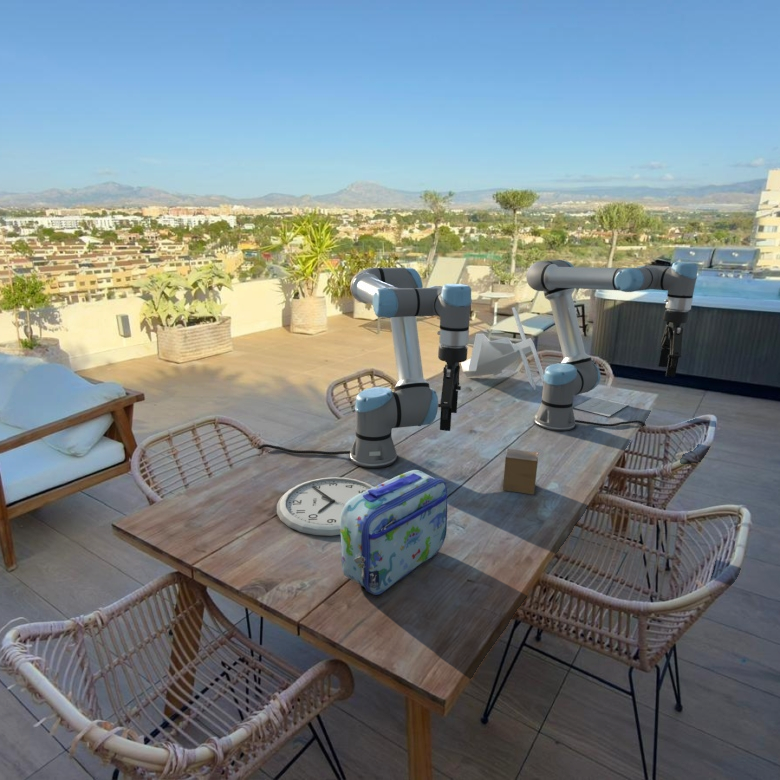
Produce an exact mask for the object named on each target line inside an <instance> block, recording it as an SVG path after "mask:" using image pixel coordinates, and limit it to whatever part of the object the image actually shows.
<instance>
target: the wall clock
mask: <svg viewBox="0 0 780 780" xmlns="http://www.w3.org/2000/svg"><path fill="white" fill-rule="evenodd" d="M373 487H375V485H372V484H371V483H369V482H365V481H362V480H359V479H355V478H349V477H338V476H337V477H335V476H333V477H332V476H331V477H322V478H317V479H312V480H307V481H305V482H302V483H299V484H297V485H295V486H293V487H292V488H290V489H288V490H287V491H286V492H285V493H284V494H283V495H281V496H280V498H279V499H278V502H277V503H276V515H277V517H278V518H279V520H280V521H281V522H282V523H283V524H285V525H286V526H287V527H288V528H290V529H293V530H295V531H297V532H299V533H303V534H308V535H312V536H327V537H328V536H329V537H331V536H332V537H333V536H341V533H340V519H341V513H342V510H343V508H344V506H345V505H346V503H347V502H348V501H349V500H350V499H351V498H353V497H355V496H356V495H358V494H361V493H363V492H365V491H367V490H369V489H371V488H373Z"/></svg>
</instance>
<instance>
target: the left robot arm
mask: <svg viewBox="0 0 780 780" xmlns="http://www.w3.org/2000/svg"><path fill="white" fill-rule="evenodd" d="M352 277H353V278H352V279H351V281H350V289H349V290H350V293H351V295H352V297H353V298H354V299H355V300H356V301H358V302H360V303H362V304H370V305H371V306H372V308H373V312H374V314H375V316H376V317H378V318H386V319H389V320H390V329H391V335H392V343H393V345H392V346H393V353H394V359H395V360H394V361H395V368H396V369H395V370H396V376H397V377H396V378H397V383H396V384H395V386H393V389H394V391H393V390H392V389H391V388H390V387H386V386H374V387H370V388H365V389H363V390H361V391H360V392H359V393H358V394H357V395H356V397H355V406H354V411H355V437H354V441H353V443H352V447H351V449H350V450H338V451H326V450H325V451H324V450H300V449H289V448H286V447H283V446H278V445H273V444H267V443H263V444H260V445H259V446H258V447H257V450H261V449H263V448H268V449H269V448H270V449H273V450H278V451H279V450H280V451H283V452H287V453H290V454H291V453H292V454H315V455H331V456H335V455H337V456H338V455H349V460H350V462H351V463H352V464H353V465H355V466H357V467H361V468H366V469H381V468H386V467H389V466H392V465H393V464H394V463H396V462H397V459H398V458H397V457H398V455H397V450H396V447H395V443H394V441H393V438H392V432H393V431H392V430H393V429H398V428H400V429H401V428H408V427H422V426H429V425H431V424H433V422H434V421H435V420H436V417H437V414H438V408H440V416H439V431H444V432H451V428H452V427H451V426H452V414H457V412H458V401H459V400H458V399H459V398H458V397H459V391H461V389H462V386H461V385H460V371H461V365H460V364H461V363H462V362H465V361H467V360H468V349H469V347H468V345H469V339H470V338H469V337H470V336H469V335H470V319H471V307H472V288H471V286H470V285H467V284H462V283H446V284H444V285H443V286H441V285H432V286H429V287H423V281H422V277H421V274H420V273H419V272H418V270H416V269H415V268H414V267H406V266H400V267H368V268H366V269H365V268H364V269H362V270H360V271H358V272H357V273H356V274H355V275H354V276H352ZM417 317H439V331H437V332H436V334H437V335H438V336H439V339H438V343H439V345H438V355H437V357H438V359H439V361H442V362H445V363H446V364H444V367H443V370H442V372H443V377H442V388H441V395H440V403H439V398H438V397H439V396H438V394H437V390H435V389H434V388H431V387H430V383H429V382H428V381H427V380H426V379H425V377H424V370H423V369H424V368H423V362H422V355H421V348H420V347H421V346H420V340H419V331H418V325H417V324H418V323H417Z"/></svg>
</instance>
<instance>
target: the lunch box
mask: <svg viewBox="0 0 780 780" xmlns="http://www.w3.org/2000/svg"><path fill="white" fill-rule="evenodd" d="M447 528H448V487H447V483H446V481H445V480H444V479H442V478H434V477H432V476H431V475H429V474H427V473H425V472H424V471H421V470H419V469H412V470H409V471H406V472H404V473H401V474H399V475H397V476H394V477H393V478H390V479H388V480H386V481H384V482H382V483H380V484H378V485H374V487H373V488H371V489H369V490H367V491H365V492H363V493H361V494H358V495H356V496H355V497H353V498H351V499H350V500H349V501H348V502H347V503H346V505H345V506H344V508H343V510H342V513H341V519H340V533H341V535H340V548H341V553H340V554H341V555H340V556H341V568H342V572H343V574H344V576H345V577H347V578H348V579H350V580H351V581H354V582H356V583H357V584H358V585H360V586H362V587H363V588H364V589H365V590H366V592H368V593H370V594H372V595H375V596H378V595H381V594H383V593H384V592H386V591H387V590H388V589H390V587H392V586H394V585H395V583H398V582H399V581H400V580H401V579H403V578H405V577H406V576H408V574H410V573H411V572H413V571H414V570H415V569H416V568H417V567H419V566H420V565H422V564H423V563H425V562H426V561H428V560H429V559H431V558H433V557H434V556H435V555H437V553H439V552H440V550H441V548H442V546H443V545H444V542H445V539H446V536H447V530H448V529H447Z"/></svg>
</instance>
